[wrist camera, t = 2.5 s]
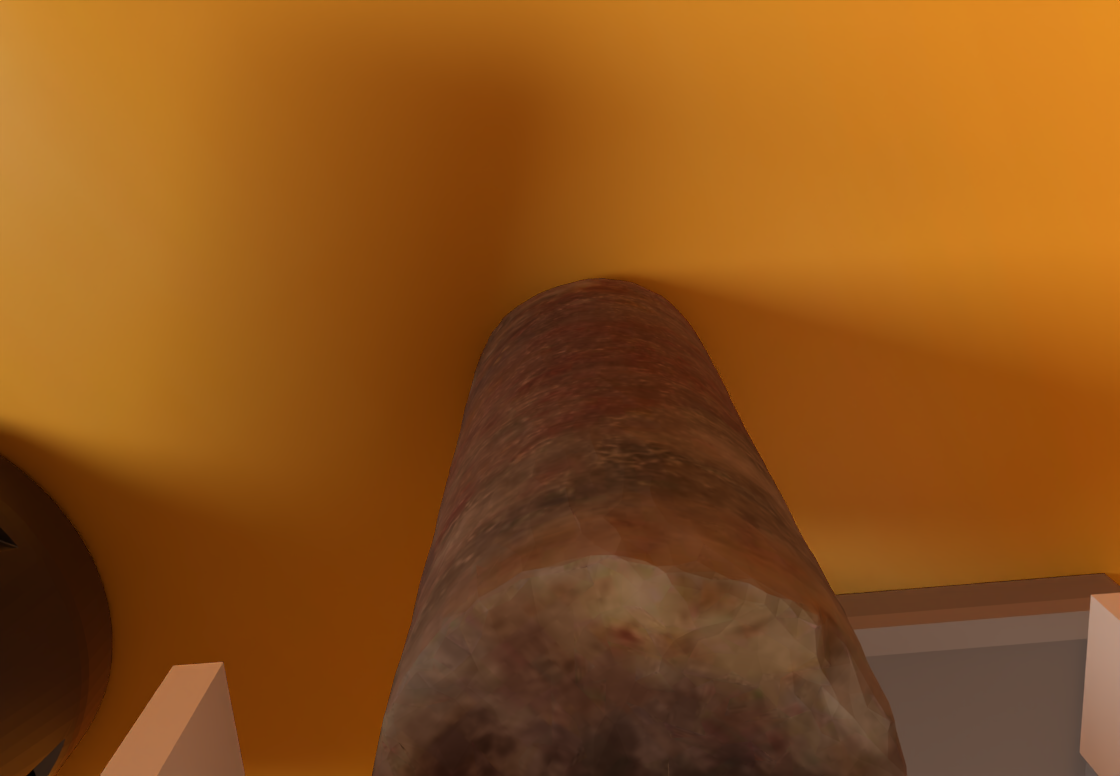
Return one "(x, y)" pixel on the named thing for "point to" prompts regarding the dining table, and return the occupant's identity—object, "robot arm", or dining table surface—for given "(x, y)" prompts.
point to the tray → (983, 672)
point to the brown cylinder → (622, 575)
